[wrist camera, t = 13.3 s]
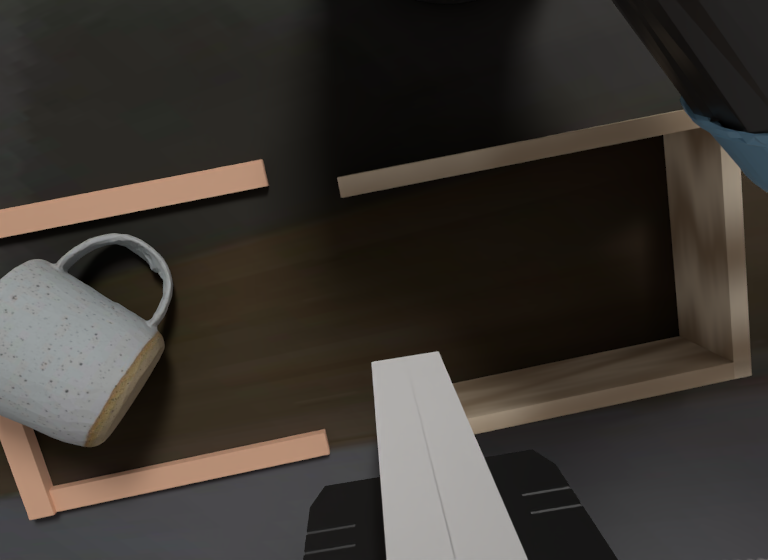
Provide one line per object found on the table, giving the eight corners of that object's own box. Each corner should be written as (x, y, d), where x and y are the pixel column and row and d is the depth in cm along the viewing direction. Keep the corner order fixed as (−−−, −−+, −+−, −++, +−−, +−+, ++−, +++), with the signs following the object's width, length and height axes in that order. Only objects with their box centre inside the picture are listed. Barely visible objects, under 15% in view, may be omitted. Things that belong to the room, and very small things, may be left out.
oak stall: (337, 176, 32) (337, 177, 27) (677, 110, 32) (737, 99, 28) (386, 412, 35) (393, 451, 30) (695, 347, 36) (751, 375, 31)
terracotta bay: (-68, 223, 31) (-79, 224, 30) (262, 159, 31) (260, 159, 31) (36, 512, 34) (29, 520, 34) (329, 450, 35) (329, 456, 34)
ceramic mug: (130, 420, 34) (70, 489, 26) (2, 356, 32) (-99, 410, 25) (214, 274, 33) (177, 303, 25) (85, 202, 31) (5, 209, 24)
